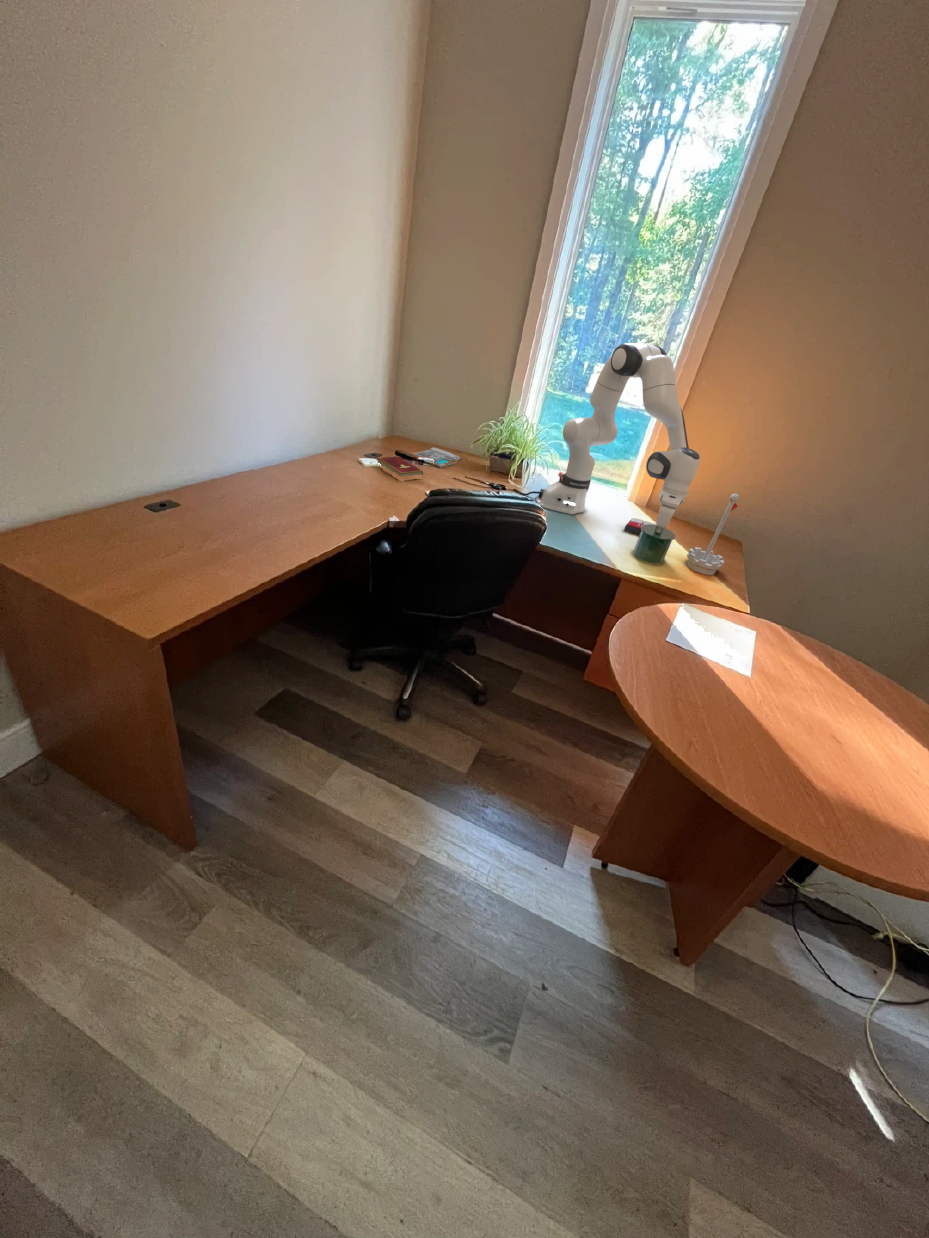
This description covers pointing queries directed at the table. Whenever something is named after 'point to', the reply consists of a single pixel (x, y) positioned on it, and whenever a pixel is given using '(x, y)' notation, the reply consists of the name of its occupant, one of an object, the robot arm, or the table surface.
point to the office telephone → (439, 456)
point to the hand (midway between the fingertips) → (658, 530)
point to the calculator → (636, 526)
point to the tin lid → (651, 532)
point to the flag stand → (710, 548)
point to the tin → (651, 549)
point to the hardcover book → (399, 466)
